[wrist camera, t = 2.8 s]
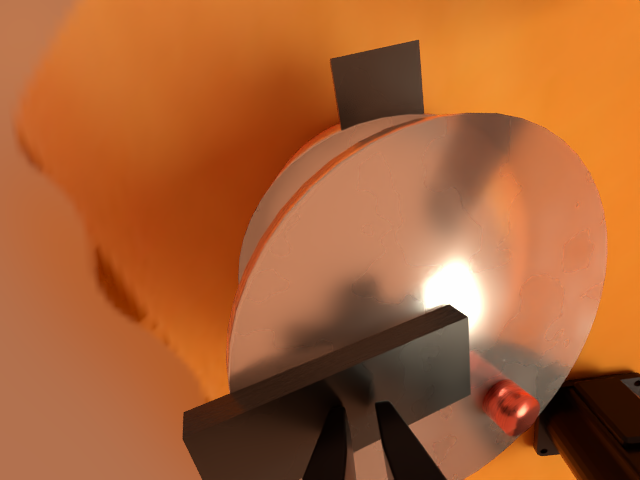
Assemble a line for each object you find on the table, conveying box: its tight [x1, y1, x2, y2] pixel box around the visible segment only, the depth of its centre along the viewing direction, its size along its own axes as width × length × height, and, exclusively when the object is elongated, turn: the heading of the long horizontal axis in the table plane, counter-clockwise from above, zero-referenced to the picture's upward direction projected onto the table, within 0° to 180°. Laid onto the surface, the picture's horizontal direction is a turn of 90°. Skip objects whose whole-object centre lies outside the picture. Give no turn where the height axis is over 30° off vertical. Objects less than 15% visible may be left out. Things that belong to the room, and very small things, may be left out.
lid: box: [183, 113, 607, 480], centre depth 11 cm, size 14×15×2 cm
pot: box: [238, 40, 437, 284], centre depth 17 cm, size 18×14×5 cm
